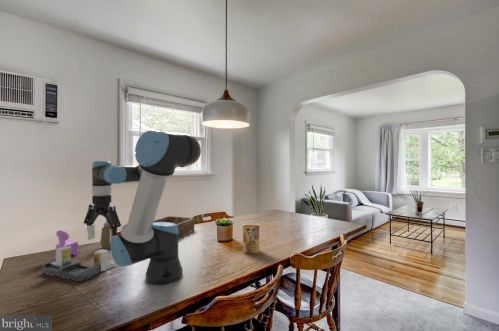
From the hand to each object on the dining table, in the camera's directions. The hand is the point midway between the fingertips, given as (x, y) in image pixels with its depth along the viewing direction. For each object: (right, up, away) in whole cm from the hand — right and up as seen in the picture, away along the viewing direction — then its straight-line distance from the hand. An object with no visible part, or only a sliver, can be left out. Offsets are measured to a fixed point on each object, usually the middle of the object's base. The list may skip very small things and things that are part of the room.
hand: (101, 240), depth 110 cm
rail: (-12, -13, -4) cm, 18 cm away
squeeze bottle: (-14, -13, +29) cm, 35 cm away
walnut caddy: (+12, -13, +54) cm, 56 cm away
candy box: (+69, -14, +23) cm, 74 cm away
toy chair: (-28, -14, +15) cm, 34 cm away
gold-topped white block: (+1, -14, +1) cm, 14 cm away
